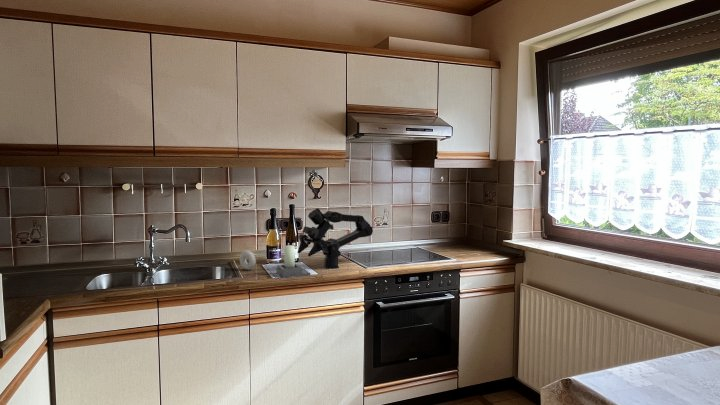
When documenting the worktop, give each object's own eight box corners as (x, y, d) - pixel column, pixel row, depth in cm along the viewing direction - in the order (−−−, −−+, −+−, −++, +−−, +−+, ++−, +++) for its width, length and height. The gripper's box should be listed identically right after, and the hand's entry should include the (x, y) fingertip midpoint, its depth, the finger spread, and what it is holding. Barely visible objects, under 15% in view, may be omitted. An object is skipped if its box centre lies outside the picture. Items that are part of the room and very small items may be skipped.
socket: (303, 270, 231) (303, 262, 231) (310, 275, 221) (310, 267, 221) (276, 272, 225) (276, 264, 225) (282, 277, 215) (282, 269, 215)
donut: (238, 269, 231) (238, 250, 230) (243, 268, 234) (243, 249, 233) (252, 271, 226) (252, 252, 225) (257, 270, 228) (257, 251, 228)
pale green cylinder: (290, 270, 225) (290, 245, 224) (296, 272, 222) (296, 246, 221) (282, 272, 221) (282, 246, 220) (289, 273, 218) (289, 247, 217)
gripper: (301, 218, 235) (283, 241, 229) (323, 222, 221) (304, 247, 215) (313, 232, 241) (296, 255, 235) (335, 236, 227) (317, 261, 221)
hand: (303, 254), depth 226 cm, fingers open, 9 cm apart
